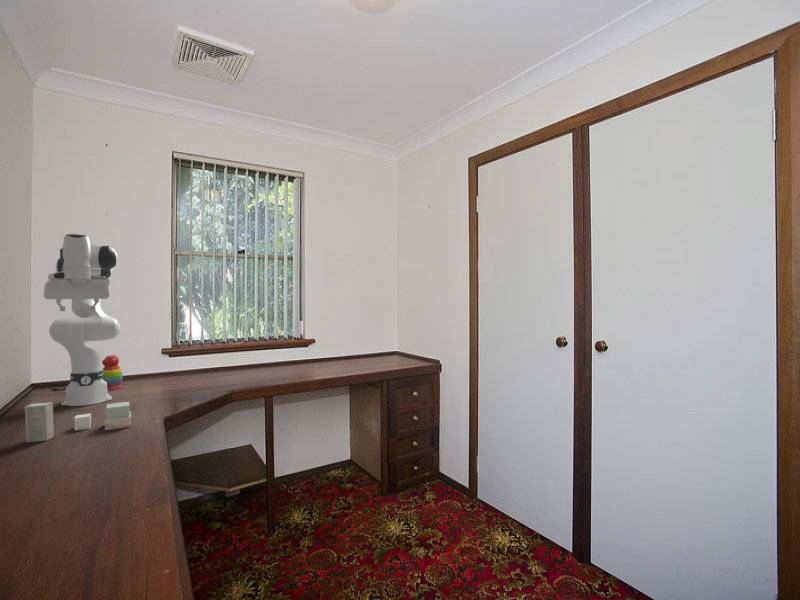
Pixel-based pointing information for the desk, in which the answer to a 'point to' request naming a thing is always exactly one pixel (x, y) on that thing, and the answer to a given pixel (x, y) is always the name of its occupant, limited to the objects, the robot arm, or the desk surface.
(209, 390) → the desk surface
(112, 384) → the stacking bear
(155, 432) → the desk surface
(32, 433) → the skincare box
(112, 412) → the green tower middle block
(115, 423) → the tower base
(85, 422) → the cream block
